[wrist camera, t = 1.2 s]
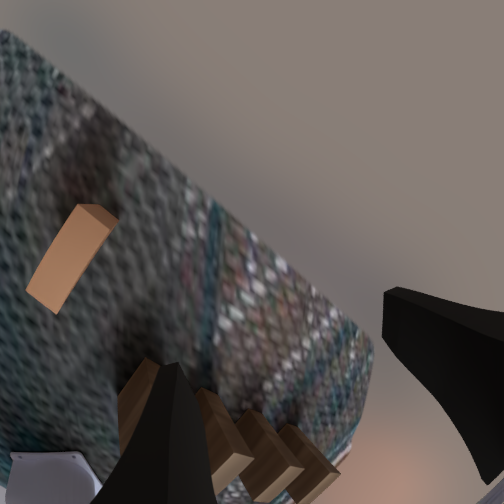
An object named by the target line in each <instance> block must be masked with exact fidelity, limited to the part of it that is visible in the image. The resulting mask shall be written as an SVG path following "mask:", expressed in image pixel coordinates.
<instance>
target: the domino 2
mask: <svg viewBox="0 0 504 504" xmlns="http://www.w3.org/2000/svg"><path fill="white" fill-rule="evenodd" d="M159 368H160V365H158V364H157V363H155V362H153V361H151V360H149V359H148V358H146V357H145V358H144V360H143V361H142V363H141V364H140V365H139V367H138V368H137V370H136V371H135V372H134V374H133V375H132V377H131V378H130V379H129V381H128V382H127V384H126V385H125V387H124V388H123V389H122V391H121V392H120V394H119V395H118V426H119V443H120V455H121V456H122V454H123V452H124V450H125V448H126V446H127V444H128V442H129V440H130V438H131V436H132V434H133V432H134V430H135V427H136V425H137V423H138V421H139V419H140V416H141V414H142V411H143V409H144V406H145V404H146V402H147V399H148V396H149V394H150V391H151V388H152V386H153V383H154V380H155V377H156V375H157V372H158V369H159Z"/></svg>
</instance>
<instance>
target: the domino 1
mask: <svg viewBox="0 0 504 504" xmlns="http://www.w3.org/2000/svg"><path fill="white" fill-rule="evenodd" d="M118 221H119V220H118V219H117V218H115V217H114V216H113V215H112V214H110V213H109V212H108V211H107V210H105V209H104V208H103V207H102V206H100V205H99V204H77V206H76V207H75V209H74V210H73V212H72V213H71V215H70V216H69V218H68V219H67V221H66V222H65V224H64V225H63V227H62V228H61V230H60V231H59V233H58V234H57V236H56V238H55V239H54V241H53V242H52V244H51V246H50V247H49V249H48V251H47V252H46V254H45V256H44V258H43V259H42V261H41V263H40V264H39V266H38V268H37V270H36V272H35V273H34V275H33V277H32V279H31V281H30V283H29V285H28V287H27V289H26V291H27V292H28V293H29V294H31V295H32V296H33V297H34V298H36V299H37V300H38V301H40V302H41V303H42V304H43V305H45V306H46V307H47V308H49V309H50V310H51V311H53V312H54V313H55V314H57V313H58V311H59V310H60V308H61V307H62V305H63V303H64V302H65V300H66V299H67V297H68V295H69V294H70V292H71V291H72V289H73V288H74V286H75V285H76V283H77V282H78V280H79V279H80V277H81V276H82V274H83V273H84V271H85V270H86V268H87V266H88V265H89V263H90V262H91V260H92V259H93V257H94V256H95V254H96V253H97V251H98V250H99V248H100V247H101V245H102V244H103V243H104V241H105V240H106V238H107V237H108V235H109V234H110V233H111V231H112V230H113V228H114V227H115V226H116V224H117V223H118Z"/></svg>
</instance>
